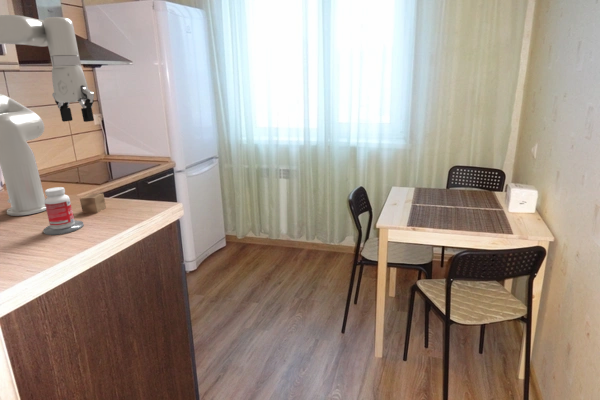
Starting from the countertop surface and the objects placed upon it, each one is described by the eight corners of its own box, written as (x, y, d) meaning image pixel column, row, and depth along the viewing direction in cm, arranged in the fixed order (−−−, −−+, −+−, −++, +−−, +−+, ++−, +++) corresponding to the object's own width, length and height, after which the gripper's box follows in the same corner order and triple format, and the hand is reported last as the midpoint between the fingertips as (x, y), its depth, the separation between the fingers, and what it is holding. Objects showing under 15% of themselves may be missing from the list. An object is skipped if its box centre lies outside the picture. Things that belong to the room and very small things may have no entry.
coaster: (35, 232, 113) (35, 230, 113) (68, 220, 122) (68, 218, 121) (59, 237, 109) (58, 234, 109) (91, 224, 117) (90, 222, 117)
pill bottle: (76, 226, 114) (68, 189, 111) (51, 231, 111) (42, 193, 108) (74, 221, 119) (66, 185, 116) (50, 225, 116) (41, 188, 113)
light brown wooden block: (82, 213, 128) (79, 198, 127) (91, 208, 133) (88, 193, 132) (97, 213, 128) (94, 198, 127) (106, 208, 133) (103, 193, 131)
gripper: (35, 64, 120) (48, 122, 125) (74, 61, 113) (86, 122, 118) (59, 64, 126) (70, 119, 132) (97, 61, 119) (107, 120, 124)
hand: (78, 121), depth 125 cm, fingers open, 9 cm apart
